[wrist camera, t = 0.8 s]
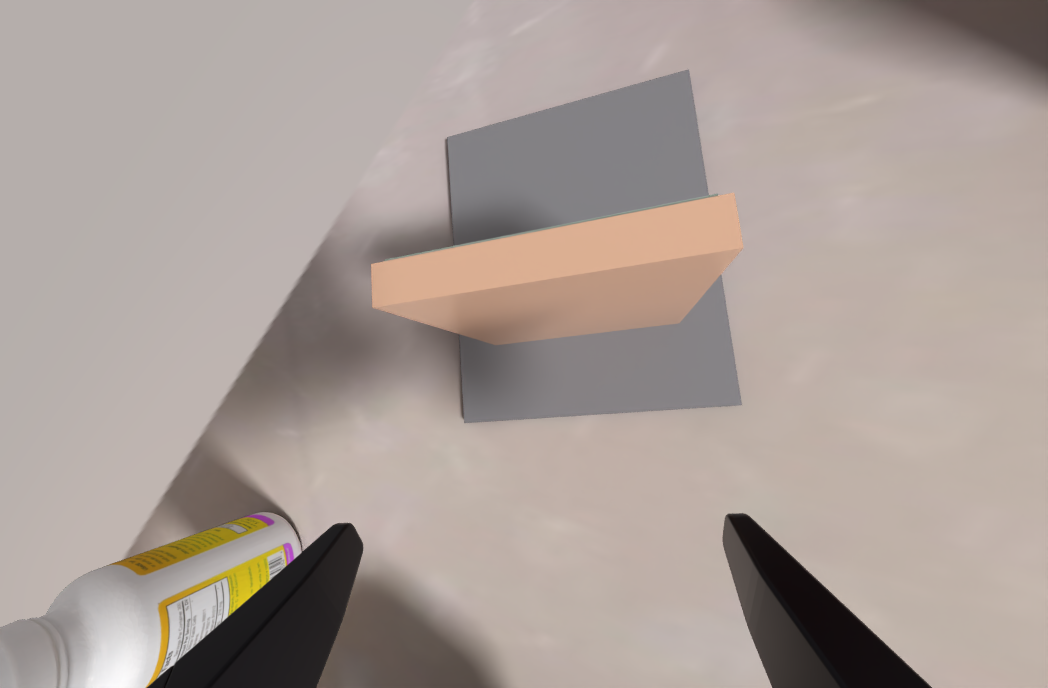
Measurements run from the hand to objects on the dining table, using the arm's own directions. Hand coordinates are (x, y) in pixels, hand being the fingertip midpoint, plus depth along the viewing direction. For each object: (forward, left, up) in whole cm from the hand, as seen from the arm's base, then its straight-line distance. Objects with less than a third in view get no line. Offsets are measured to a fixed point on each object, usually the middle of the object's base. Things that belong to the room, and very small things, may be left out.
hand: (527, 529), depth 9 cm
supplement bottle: (-10, +23, -14) cm, 29 cm away
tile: (+7, +1, -13) cm, 15 cm away
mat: (+12, +1, -14) cm, 18 cm away
